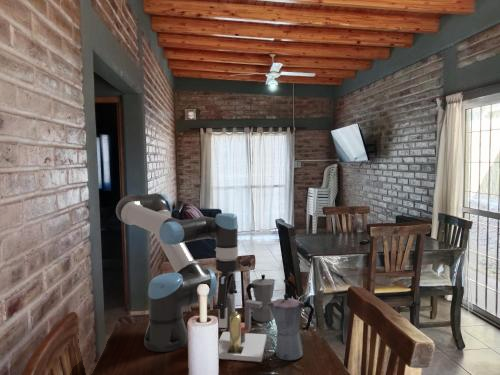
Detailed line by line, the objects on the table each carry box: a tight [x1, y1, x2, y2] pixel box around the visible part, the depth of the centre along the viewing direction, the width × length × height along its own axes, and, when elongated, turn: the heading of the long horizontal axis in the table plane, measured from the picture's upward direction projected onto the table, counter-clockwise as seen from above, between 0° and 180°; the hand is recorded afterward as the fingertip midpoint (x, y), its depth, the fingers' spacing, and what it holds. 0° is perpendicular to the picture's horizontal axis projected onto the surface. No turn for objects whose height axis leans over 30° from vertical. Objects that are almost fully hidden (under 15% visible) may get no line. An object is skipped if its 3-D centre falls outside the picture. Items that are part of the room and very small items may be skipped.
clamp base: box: [218, 331, 267, 363], centre depth 122 cm, size 16×16×2 cm
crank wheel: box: [225, 296, 263, 343], centre depth 123 cm, size 14×6×15 cm, turn 64°
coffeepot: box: [245, 274, 276, 323], centre depth 146 cm, size 15×9×18 cm, turn 129°
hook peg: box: [229, 310, 242, 354], centre depth 118 cm, size 4×4×14 cm
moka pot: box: [267, 293, 315, 361], centre depth 117 cm, size 10×15×20 cm, turn 81°
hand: (227, 319), depth 124 cm, fingers open, 13 cm apart
